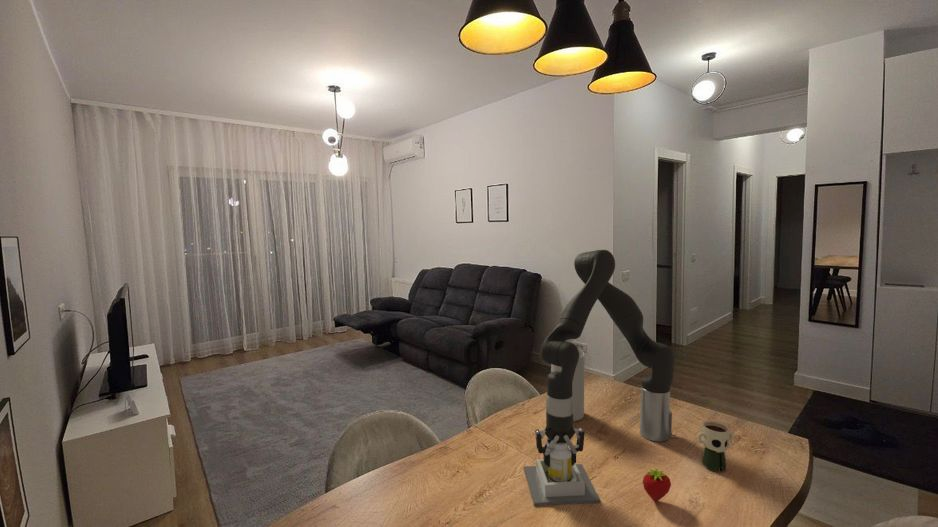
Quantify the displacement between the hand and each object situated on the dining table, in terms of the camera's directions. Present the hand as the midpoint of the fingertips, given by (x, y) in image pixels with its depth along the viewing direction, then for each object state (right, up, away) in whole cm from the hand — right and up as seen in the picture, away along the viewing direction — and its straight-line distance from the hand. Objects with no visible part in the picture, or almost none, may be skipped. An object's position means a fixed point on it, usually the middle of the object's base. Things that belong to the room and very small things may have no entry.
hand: (559, 464), depth 115 cm
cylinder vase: (+13, -2, +42) cm, 44 cm away
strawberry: (+24, -7, -7) cm, 26 cm away
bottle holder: (0, -6, +1) cm, 6 cm away
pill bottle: (0, -5, 0) cm, 5 cm away
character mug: (+49, -4, +7) cm, 50 cm away
